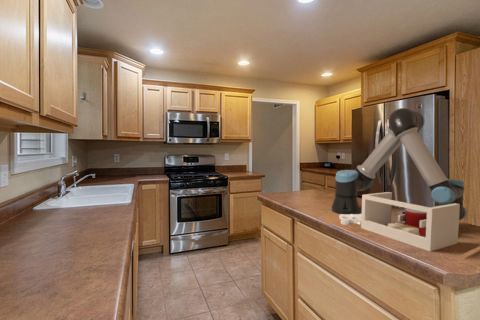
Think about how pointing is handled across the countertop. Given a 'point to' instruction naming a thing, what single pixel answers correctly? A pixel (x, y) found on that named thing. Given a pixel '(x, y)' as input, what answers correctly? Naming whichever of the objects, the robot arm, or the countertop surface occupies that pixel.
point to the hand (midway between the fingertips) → (409, 221)
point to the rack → (437, 232)
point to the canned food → (415, 219)
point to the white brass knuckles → (350, 218)
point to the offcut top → (404, 228)
